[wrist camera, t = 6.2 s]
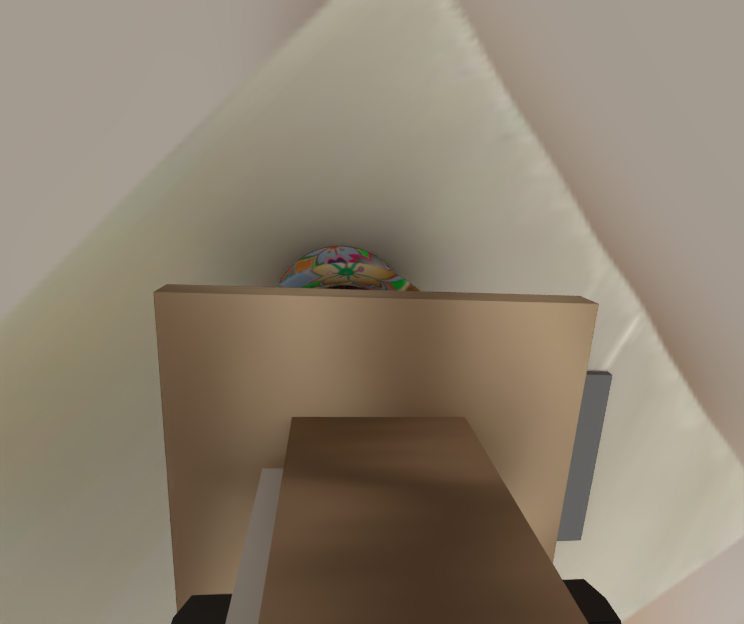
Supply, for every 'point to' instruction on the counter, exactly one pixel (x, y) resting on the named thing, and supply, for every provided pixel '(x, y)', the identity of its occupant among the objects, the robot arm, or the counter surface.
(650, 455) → the counter surface
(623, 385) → the counter surface
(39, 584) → the counter surface
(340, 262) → the mug
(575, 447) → the mat
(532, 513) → the lid
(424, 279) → the counter surface
